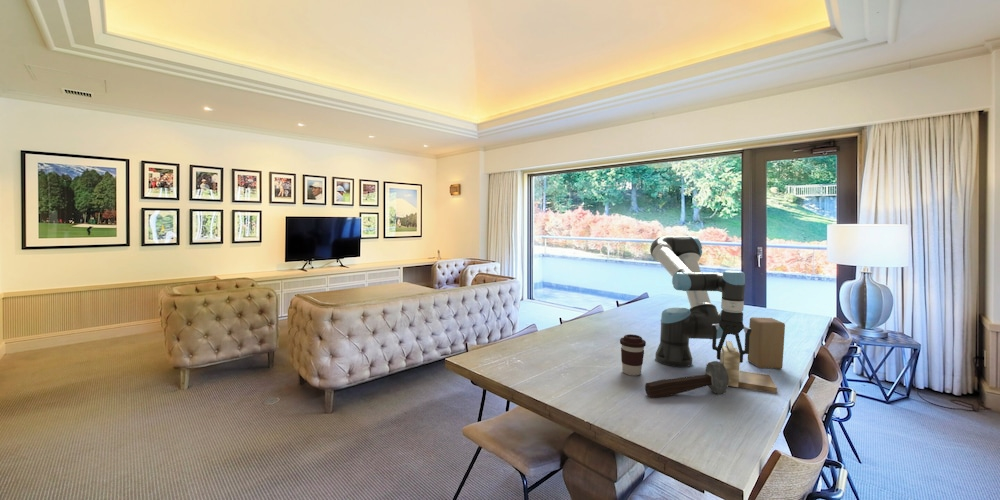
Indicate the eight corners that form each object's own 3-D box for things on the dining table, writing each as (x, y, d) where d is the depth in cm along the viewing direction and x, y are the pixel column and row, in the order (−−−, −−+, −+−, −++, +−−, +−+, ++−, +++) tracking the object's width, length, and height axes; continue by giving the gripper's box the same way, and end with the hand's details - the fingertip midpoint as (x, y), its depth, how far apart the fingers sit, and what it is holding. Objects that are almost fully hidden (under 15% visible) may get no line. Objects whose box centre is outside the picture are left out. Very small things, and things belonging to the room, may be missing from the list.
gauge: (722, 384, 152) (724, 350, 151) (720, 372, 165) (721, 340, 164) (738, 387, 150) (740, 352, 149) (734, 374, 163) (736, 341, 162)
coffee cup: (648, 372, 165) (649, 336, 163) (638, 379, 157) (639, 341, 156) (625, 366, 171) (626, 331, 170) (614, 372, 164) (615, 336, 163)
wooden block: (770, 361, 180) (772, 317, 178) (783, 369, 170) (786, 323, 168) (746, 360, 181) (748, 316, 179) (758, 368, 171) (761, 322, 169)
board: (714, 383, 154) (714, 378, 154) (712, 371, 167) (712, 366, 167) (776, 393, 146) (776, 387, 146) (769, 379, 159) (769, 374, 158)
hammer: (652, 409, 140) (729, 393, 144) (649, 378, 139) (727, 363, 143) (645, 403, 145) (720, 388, 149) (642, 373, 144) (718, 359, 148)
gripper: (706, 309, 157) (703, 368, 159) (761, 315, 149) (757, 376, 151) (705, 306, 164) (703, 362, 165) (758, 311, 156) (754, 369, 158)
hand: (729, 368), depth 158 cm, fingers closed on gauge, 5 cm apart
